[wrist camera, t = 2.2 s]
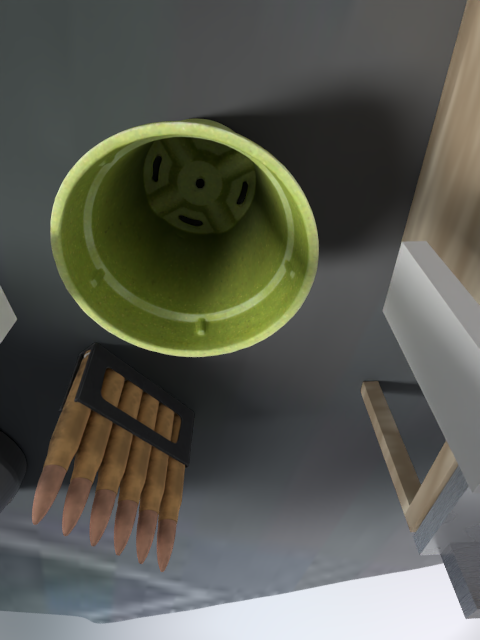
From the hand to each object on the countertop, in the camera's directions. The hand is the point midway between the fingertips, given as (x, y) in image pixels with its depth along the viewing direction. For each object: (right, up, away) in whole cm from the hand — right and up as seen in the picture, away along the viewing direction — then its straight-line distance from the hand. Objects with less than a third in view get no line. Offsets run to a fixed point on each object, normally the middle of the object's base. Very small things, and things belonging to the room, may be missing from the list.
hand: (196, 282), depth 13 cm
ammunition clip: (-6, -6, +18) cm, 20 cm away
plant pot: (-1, +6, +8) cm, 10 cm away
